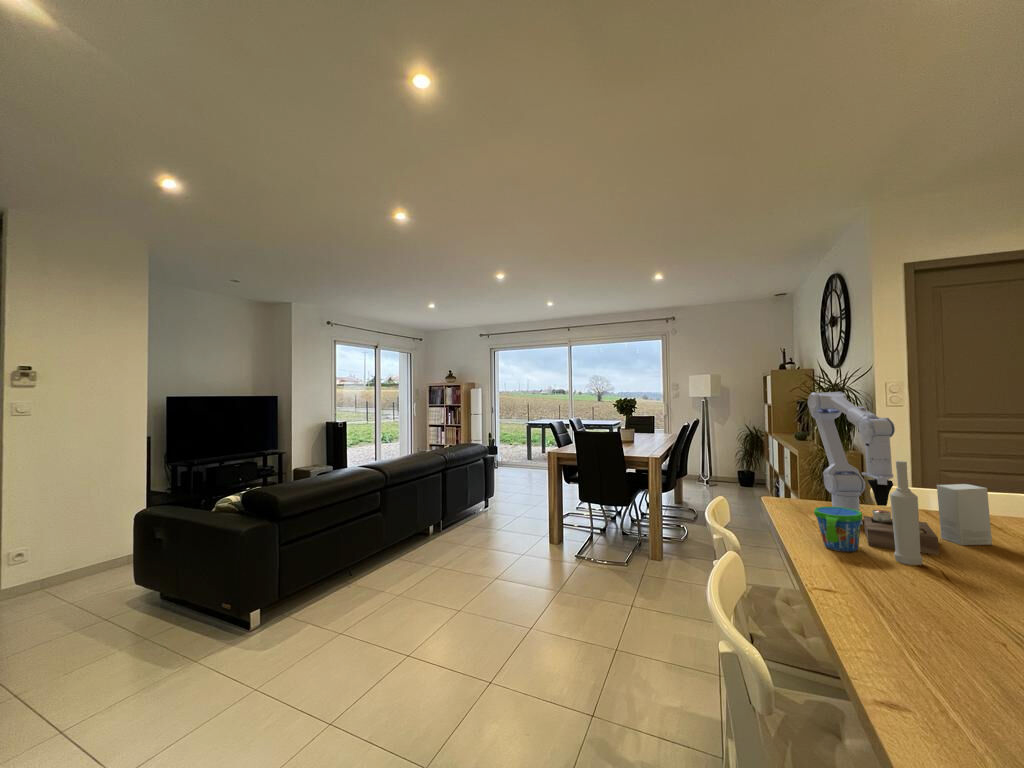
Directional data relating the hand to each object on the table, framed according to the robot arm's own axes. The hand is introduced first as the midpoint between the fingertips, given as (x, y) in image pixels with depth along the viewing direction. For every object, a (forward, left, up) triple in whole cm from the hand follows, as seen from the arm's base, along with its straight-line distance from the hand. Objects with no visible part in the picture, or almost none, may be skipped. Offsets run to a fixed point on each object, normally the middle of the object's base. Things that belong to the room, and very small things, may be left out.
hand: (881, 505), depth 124 cm
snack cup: (+17, -10, -9) cm, 22 cm away
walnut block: (+3, +3, -9) cm, 10 cm away
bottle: (+21, +3, -10) cm, 23 cm away
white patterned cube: (0, 0, -6) cm, 6 cm away
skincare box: (-6, +18, -10) cm, 21 cm away
